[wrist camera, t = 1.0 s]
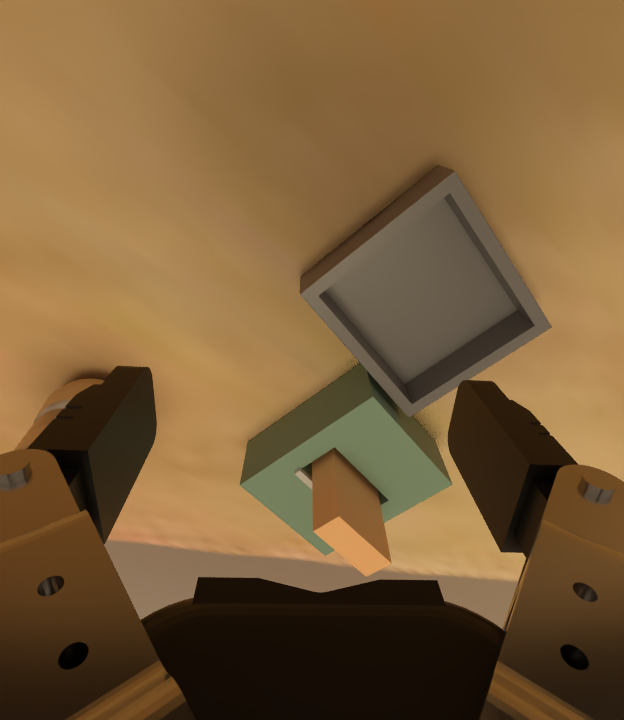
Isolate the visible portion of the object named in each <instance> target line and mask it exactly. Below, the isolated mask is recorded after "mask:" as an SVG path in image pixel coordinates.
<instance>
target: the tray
mask: <svg viewBox="0 0 624 720" xmlns="http://www.w3.org/2000/svg"><path fill="white" fill-rule="evenodd" d="M300 295H301V296H302V297H303V298H304V300H305V301H306V302H307V303H308V304H309V305H310V306H311V307H312V309H313V310H314V311H315V312H316V313H317V314H318V315H319V317H320V318H321V319H322V320H323V321H324V322H325V323H326V324H327V326H328V327H329V328H330V329H331V330H332V331H333V332H334V334H335V335H336V336H337V337H338V338H339V339H340V340H341V341H342V343H343V344H344V345H345V346H346V347H347V348H348V349H349V351H350V352H351V353H352V354H353V355H354V356H355V357H356V358H357V360H358V361H359V362H360V363H361V364H362V365H363V366H364V368H365V369H366V370H367V371H368V372H369V373H370V374H371V375H372V377H373V378H374V379H375V380H376V381H377V382H378V383H379V385H380V386H381V387H382V388H383V389H384V390H385V391H386V392H387V394H388V395H389V396H390V397H391V398H392V399H393V400H394V402H395V403H396V404H397V405H398V406H399V407H400V408H401V409H402V411H403V412H404V413H405V414H406V415H407V416H408V417H410V416H412V415H414V414H415V413H417V412H418V411H420V410H422V409H423V408H425V407H426V406H428V405H429V404H431V403H433V402H434V401H436V400H437V399H439V398H441V397H442V396H444V395H445V394H447V393H448V392H450V391H452V390H453V389H455V388H456V387H458V386H459V384H460V383H461V382H462V381H463V380H469V379H471V378H472V377H474V376H475V375H477V374H479V373H480V372H482V371H483V370H485V369H486V368H488V367H490V366H491V365H493V364H494V363H496V362H498V361H499V360H501V359H502V358H504V357H505V356H507V355H509V354H510V353H512V352H513V351H515V350H517V349H518V348H520V347H521V346H523V345H524V344H526V343H528V342H529V341H531V340H532V339H534V338H536V337H537V336H539V335H540V334H542V333H543V332H545V331H547V330H548V329H550V328H551V327H552V326H551V325H550V323H549V321H548V320H547V318H546V317H545V315H544V313H543V312H542V310H541V308H540V307H539V305H538V304H537V302H536V300H535V299H534V297H533V296H532V294H531V292H530V291H529V289H528V288H527V286H526V284H525V283H524V281H523V280H522V278H521V276H520V275H519V273H518V272H517V270H516V268H515V267H514V265H513V263H512V262H511V260H510V259H509V257H508V255H507V254H506V252H505V251H504V249H503V247H502V246H501V244H500V243H499V241H498V239H497V238H496V236H495V235H494V233H493V231H492V230H491V228H490V226H489V225H488V223H487V222H486V220H485V218H484V217H483V215H482V214H481V212H480V210H479V209H478V207H477V206H476V204H475V202H474V201H473V199H472V198H471V196H470V194H469V193H468V191H467V189H466V188H465V186H464V185H463V183H462V181H461V180H460V178H459V177H458V175H457V173H456V172H455V171H454V170H451V169H448V168H445V167H442V166H439V165H438V166H437V167H436V168H434V169H433V170H432V171H431V172H429V173H428V174H427V175H426V176H424V177H423V178H422V179H421V180H420V181H418V182H417V183H416V184H415V185H413V186H412V187H411V188H410V189H408V190H407V191H406V192H405V193H403V194H402V195H401V196H400V197H399V198H397V199H396V200H395V201H394V202H392V203H391V204H390V205H389V206H387V207H386V208H385V209H384V210H382V211H381V212H380V213H379V214H378V215H376V216H375V217H374V218H373V219H371V220H370V221H369V222H368V223H366V224H365V225H364V226H363V227H362V228H360V229H359V230H358V231H357V232H355V233H354V234H353V235H352V236H350V237H349V238H348V239H347V240H345V241H344V242H343V243H342V244H341V245H339V246H338V247H337V248H336V249H334V250H333V251H332V252H331V253H329V254H328V255H327V256H326V257H324V258H323V259H322V260H321V261H320V262H318V263H317V264H316V265H315V266H313V267H312V268H311V269H310V270H308V271H307V272H306V273H305V274H303V275H302V276H301V280H300Z"/></svg>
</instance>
